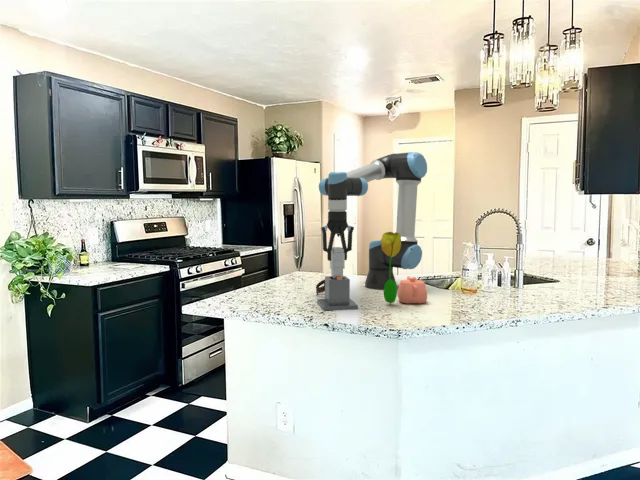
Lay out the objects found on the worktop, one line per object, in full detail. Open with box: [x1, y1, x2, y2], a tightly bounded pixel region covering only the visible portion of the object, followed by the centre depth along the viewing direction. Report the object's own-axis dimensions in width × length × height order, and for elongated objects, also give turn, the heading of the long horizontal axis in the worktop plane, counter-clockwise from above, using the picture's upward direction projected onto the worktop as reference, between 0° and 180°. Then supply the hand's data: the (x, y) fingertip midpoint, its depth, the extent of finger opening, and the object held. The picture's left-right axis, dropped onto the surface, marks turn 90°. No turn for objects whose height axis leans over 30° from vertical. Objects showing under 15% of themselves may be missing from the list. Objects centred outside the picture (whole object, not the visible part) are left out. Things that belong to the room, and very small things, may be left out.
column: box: [330, 246, 344, 279], centre depth 195 cm, size 4×6×21 cm
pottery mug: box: [315, 279, 325, 296], centre depth 218 cm, size 12×10×8 cm
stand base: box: [316, 275, 359, 311], centre depth 195 cm, size 14×14×12 cm
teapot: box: [397, 275, 428, 305], centre depth 204 cm, size 12×18×10 cm, turn 0°
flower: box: [380, 231, 401, 306], centre depth 197 cm, size 9×8×30 cm
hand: (337, 268), depth 195 cm, fingers closed on column, 4 cm apart
